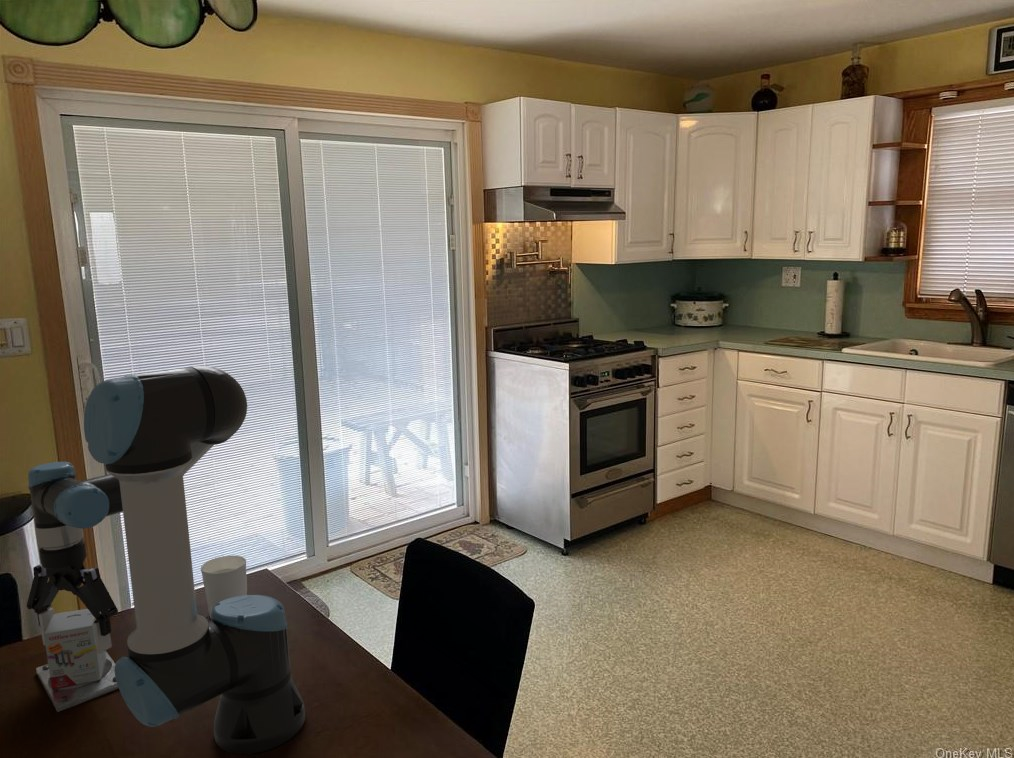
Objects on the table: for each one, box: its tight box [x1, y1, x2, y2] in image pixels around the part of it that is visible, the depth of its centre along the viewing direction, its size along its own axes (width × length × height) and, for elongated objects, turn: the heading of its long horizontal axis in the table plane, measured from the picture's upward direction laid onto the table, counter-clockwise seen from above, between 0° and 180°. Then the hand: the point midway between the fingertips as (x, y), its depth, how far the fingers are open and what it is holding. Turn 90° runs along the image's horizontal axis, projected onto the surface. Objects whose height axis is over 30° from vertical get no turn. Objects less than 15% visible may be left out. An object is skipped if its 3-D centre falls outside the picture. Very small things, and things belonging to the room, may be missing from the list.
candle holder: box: [200, 555, 248, 620], centre depth 170 cm, size 10×10×12 cm
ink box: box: [44, 608, 107, 690], centre depth 144 cm, size 9×9×12 cm
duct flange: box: [35, 651, 119, 713], centre depth 145 cm, size 18×12×2 cm, turn 43°
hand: (77, 646), depth 144 cm, fingers open, 13 cm apart
